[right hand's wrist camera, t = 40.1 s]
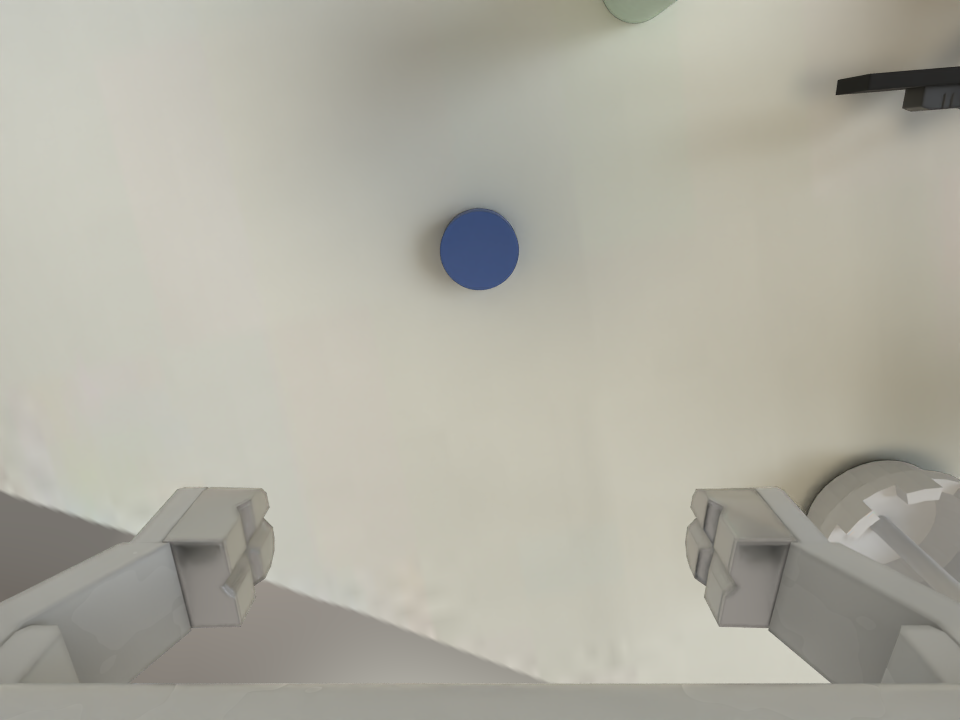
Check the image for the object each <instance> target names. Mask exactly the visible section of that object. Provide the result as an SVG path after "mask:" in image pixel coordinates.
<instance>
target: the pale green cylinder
mask: <svg viewBox="0 0 960 720" xmlns="http://www.w3.org/2000/svg"><path fill="white" fill-rule="evenodd" d="M603 1H604V3H605V5H606V7H607V8H608V10H609V11H610V12H611V13H612V14H613V15H614V16H615V17H617V18H618V19H620V20H622V21H625V22H628V23H641V22H645V21H648V20H650V19H652V18H654V17H655V16H657V15H658V14H659V13H661V12H662V11H664V10H665V9H666V8H668V7H669V6H670V5H672V4H673V3H674V2H676V1H677V0H603Z"/></svg>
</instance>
